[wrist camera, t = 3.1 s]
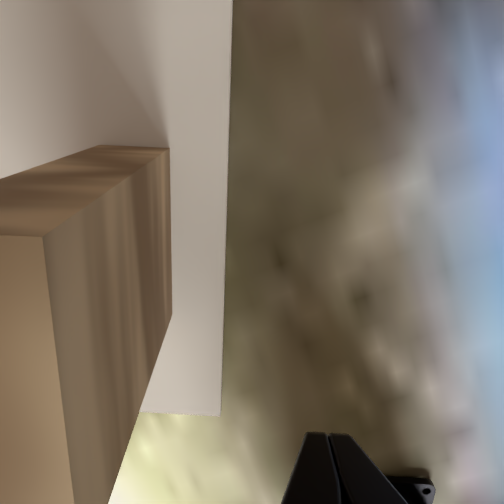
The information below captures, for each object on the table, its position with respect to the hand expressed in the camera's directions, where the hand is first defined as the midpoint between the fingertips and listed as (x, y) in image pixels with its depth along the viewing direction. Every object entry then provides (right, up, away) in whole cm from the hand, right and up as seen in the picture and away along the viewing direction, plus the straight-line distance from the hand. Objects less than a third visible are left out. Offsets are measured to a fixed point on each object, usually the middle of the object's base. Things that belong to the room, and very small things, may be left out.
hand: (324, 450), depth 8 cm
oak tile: (-7, +5, +12) cm, 14 cm away
